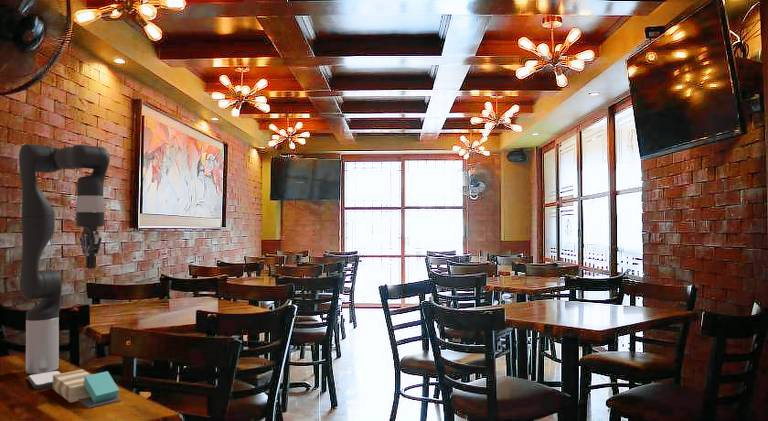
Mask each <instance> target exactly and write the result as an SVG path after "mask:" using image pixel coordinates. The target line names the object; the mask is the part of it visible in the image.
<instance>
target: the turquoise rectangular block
mask: <svg viewBox="0 0 768 421" xmlns="http://www.w3.org/2000/svg"><path fill="white" fill-rule="evenodd" d="M83 384H84V386H85V387H86V389H87V391H88V393H89V394H90V396H91V398H92V400H93V401H94V403H96V402H100V401H104V400H108V399H112V398H116V397H119V396H118V395H119V393H120V389H119V387H118V385H117V383H116V382H115V381H114V378H113V377H112V375H111V374H110V372H109V371H108V370H107V371H103V372H96V373H94V374H91V375H88V376H85V379H84V382H83Z"/></svg>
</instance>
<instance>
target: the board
mask: <svg viewBox="0 0 768 421" xmlns="http://www.w3.org/2000/svg"><path fill="white" fill-rule="evenodd" d="M60 373H61V372H60ZM88 375H92V374H91V373H90V372H87V371H86V370H84V369H78V370H74V371H73V370H72V371H67V372H62V373H61V374H56V375H53V387H52V390H54V391H55V392H56V393H57V394H58V395H59V396H61V397H63V398H64V399H65V400H66V401H68V402H69V403H70V404H71V403H75V402H79V401H78V399H82V398H87V397H91V396H90V394H89V393H88V391H87V389H86V387H85V386H84V384H83V382H84V379H85V376H88Z"/></svg>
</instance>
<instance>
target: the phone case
mask: <svg viewBox="0 0 768 421" xmlns="http://www.w3.org/2000/svg"><path fill="white" fill-rule="evenodd" d="M56 374H61V371H60V370H54V371H50V372H45V373H36V374H30V375H27V380H28V382H29V384H30V385H31V386H32V388H33V389H34V390H42V389H47V388H53V375H56Z"/></svg>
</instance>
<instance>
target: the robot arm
mask: <svg viewBox="0 0 768 421" xmlns="http://www.w3.org/2000/svg"><path fill="white" fill-rule="evenodd" d="M110 160H111V155H110V152H109V151H108V150H107V148H106V147H103V146H97V145H88V144H87V145H86V144H74V145H73V146H65V147H61V148H57V147H54V146H50V145H45V144H44V145H43V144H42V145H41V144H33V143H24V144H23V145H22V146H21V147H20V149H19V153H18V167H19V176H20V185H21V235H22V236H21V242H22V244H21V245H22V248H21V250H22V251H21V262H20V263H21V264H20V275H19V290H20V294H21V295H22V298H24V299H25V300H37V299H41V300H40V301H39V303H37V305H35V306H33V307H31V308H30V309H28V310H27V311H26V314H25V373H26V374H30V375H34V374H41V373H47V372H53V371H57V370H58V369H59V368H60V367H59V365H60V363H59V361H60V360H59V358H60V356H59V355H60V349H59V348H60V346H59V345H60V343H59V342H60V341H59V340H60V330H59V329H60V325H59V320H60V311H61V308H62V306H61V305H62V294H63V293H62V289H63V283H62V282H63V280H62V276H61V274H60V272H58V271H57V270H56V269H44V270H43V269H42V270H39V267H40V258H41V256H42V253H43V251H44V249H45V248H46V246H47V245H48V243H49V242H50V241H51V239H52V237H53V235H54V233H55V228H56V226H55V225H56V223H55V220H56V218H55V210H54V207H53V206H52V204H51V202H50V201H49V200H48V199H47V198H46V196H45V195H44V193H43V192H42V190H41V188H40V187H39V183H38V180H37V175H36V174H37V173H43V174H49V173H50V174H51V173H55V172H58V171H61V170H63V169H65V170H78V169H79V170H80V169H86V170H87V169H88V170H92V173H91V174H90V175H86V176H84V175H83V176H81V177H79V178H78V179H77V182H76V201H75V202H76V204H75V210H76V212H75V214H76V215H75V226H76V228H77V227H78V228H82V233H81V235H80V237H79V241H80V246H81V250H82V253H83V254H84V256H85V268H86V269H96V256H97V255H99V251H100V247H101V242H102V237H101V236H100V233H99V227H102V228H103V227H104V226H105V199H104V198H105V197H104V183H105V179H106V176H107V171H108V168H109V166H110Z"/></svg>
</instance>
